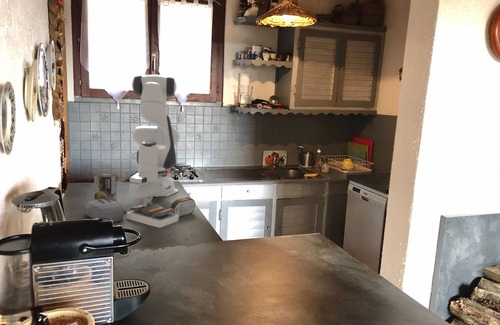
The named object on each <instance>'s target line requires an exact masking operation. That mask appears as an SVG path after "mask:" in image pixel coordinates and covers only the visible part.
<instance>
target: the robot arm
mask: <svg viewBox="0 0 500 325" xmlns="http://www.w3.org/2000/svg"><path fill="white" fill-rule="evenodd" d="M131 87H132V90H133V93H134V94H135V95H136V96H140V102H139V103H140V104H139V106H140V109H139V110H140V115H141V117H142V118H143V120H145V121H146V122H148V123H149V124H152V126H151V125H140V126H136V127H135V129H134V130H133V132H132V138H133V141H134V143H136V144H137V145H138V146H139V150H137V151H136V163H137V164H138V169H137V172H136V173H135V174H133V175H132V176H130V177H129V182H130V184H129V186H128V198H129V199H130V200H131V201H132V200H133V201H137V200H142V204H143V206H145V207H147V206H150V205H151V204H152V200H153V198H154V197H168V196H172V195H173V194H176V193H178V192H179V189H178V188H175V181H174V180H172V179H171V177H169V176H168V174H171V169H173V167H175V166H176V165H177V162H178V155H177V152H176V148H175V146H176V145H177V144H178V143H179V141H180V132H179V131H178V130H177V129H176V128H175V127H174V126H173V125H172V122H171V121H172V120H171V118H170V116H169V115H168V113H167V98H169V97H173V96H174V95H175V93H176V90H177V83H176V80H175V78H174V77H173V76H167V75H166V76H165V75H160V74H149V75H148V74H145V75H142V74H139V75H138V74H137V75H135V76H134V77H133V79H132V83H131Z"/></svg>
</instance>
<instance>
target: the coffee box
mask: <svg viewBox="0 0 500 325" xmlns="http://www.w3.org/2000/svg"><path fill="white" fill-rule="evenodd" d="M117 177H118V176H117V174H113V173H112V174H111V173H110V174H109V173H98V174H96V175H94V177H93V178H94V182H93V185H94V200H96V199H104V198H106V199H108V200H112V201H116V202H117V189H118V188H117V181H118V180H117Z"/></svg>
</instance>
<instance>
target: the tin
mask: <svg viewBox="0 0 500 325" xmlns="http://www.w3.org/2000/svg"><path fill="white" fill-rule="evenodd" d="M195 207H196V201H195V200H194V199H193V198H191V197H189V196H187V197H183V198H177V199H176V200H173V202H172V203H171V205H170V208H169V209H175V212H172V213H174V214H178V215H179V218H180V217H184V216H188V215H191V214H192V213H193V212H194V211H195Z"/></svg>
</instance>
